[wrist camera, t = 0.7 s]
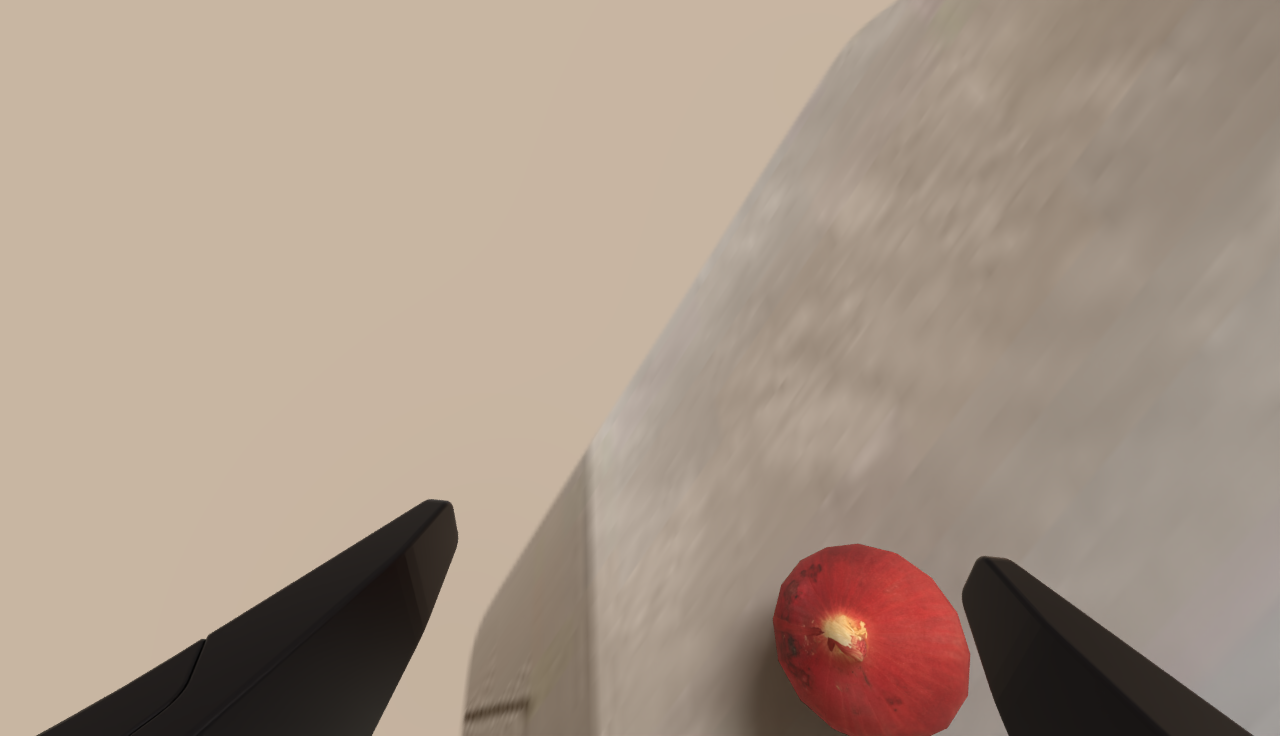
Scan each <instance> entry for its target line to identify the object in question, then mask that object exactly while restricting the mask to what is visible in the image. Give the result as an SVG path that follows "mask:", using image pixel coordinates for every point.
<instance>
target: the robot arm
mask: <svg viewBox="0 0 1280 736" xmlns="http://www.w3.org/2000/svg"><path fill="white" fill-rule="evenodd" d="M457 543H458V531H457V526H456V520H455V515H454V509H453V506H452V504H451V503H450V502H449V501H444V500H434V499H429V500H426V501H424V502H422V503H421V504H419V505H417V506H416V507H414V508H412V509H411V510H409V511H408V512H406V513H404V514H403V515H401V516H400V517H398V518H396V519H395V520H393V521H391V522H390V523H388V524H387V525H385V526H383V527H382V528H380V529H379V530H377V531H375V532H374V533H372V534H370V535H369V536H368V537H366V538H364V539H363V540H361V541H359V542H358V543H356V544H354V545H353V546H351V547H350V548H348V549H346V550H345V551H343V552H341V553H340V554H338V555H337V556H335V557H334V558H332V559H330V560H329V561H327V562H325V563H324V564H322V565H321V566H319V567H317V568H316V569H314V570H312V571H311V572H309V573H308V574H306V575H305V576H303V577H301V578H300V579H298V580H297V581H295V582H293V583H291V584H290V585H288V586H287V587H285V588H283V589H282V590H280V591H279V592H277V593H275V594H274V595H272V596H271V597H269V598H267V599H266V600H264V601H262V602H261V603H259V604H258V605H256V606H255V607H253V608H251V609H250V610H248V611H246V612H245V613H243V614H241V615H240V616H238V617H237V618H235V619H233V620H232V621H230V622H229V623H227V624H225V625H224V626H222V627H220V628H219V629H217V630H216V631H214V632H212V633H211V634H209V635H208V637H207V639H201V640H199V641H198V642H196V643H194V644H193V645H191V646H190V647H188V648H186V649H185V650H183V651H182V652H180V653H178V654H177V655H175V656H173V657H172V658H170V659H168V660H167V661H165V662H163V663H162V664H160V665H158V666H157V667H155V668H153V669H152V670H150V671H149V672H147V673H145V674H144V675H142V676H141V677H139V678H137V679H135V680H134V681H132V682H130V683H129V684H127V685H125V686H124V687H122V688H120V689H118V690H117V691H115V692H113V693H111V694H110V695H108V696H106V697H104V698H103V699H101V700H99V701H97V702H95V703H94V704H92V705H90V706H88V707H87V708H85V709H83V710H81V711H80V712H78V713H77V714H74V715H73V716H71V717H69V718H67V719H66V720H64V721H62V722H60V723H58V724H57V725H55V726H53V727H51V728H49V729H48V730H46V731H44V732H42V733H40V734H38V735H37V736H372V734H373V732H374V730H375V728H376V726H377V724H378V722H379V720H380V718H381V716H382V714H383V712H384V710H385V709H386V706H387V705H388V703H389V700H390V698H391V697H392V694H393V693H394V691H395V689H396V686H397V685H398V682H399V681H400V679H401V677H402V675H403V673H404V671H405V669H406V667H407V665H408V663H409V661H410V659H411V657H412V655H413V653H414V651H415V649H416V647H417V645H418V643H419V641H420V639H421V637H422V634H423V632H424V630H425V628H426V625H427V623H428V620H429V618H430V616H431V613H432V610H433V608H434V605H435V603H436V600H437V597H438V595H439V592H440V589H441V587H442V584H443V582H444V579H445V576H446V574H447V571H448V569H449V566H450V563H451V561H452V558H453V556H454V553H455V550H456V547H457ZM962 602H963V607H964V610H965V613H966V616H967V619H968V622H969V625H970V628H971V632H972V635H973V638H974V641H975V644H976V647H977V650H978V653H979V656H980V659H981V662H982V666H983V669H984V672H985V675H986V678H987V681H988V684H989V687H990V690H991V693H992V696H993V698H994V701H995V704H996V706H997V709H998V711H999V714H1000V716H1001V719H1002V721H1003V723H1004V726H1005V728H1006V730H1007V733H1008V735H1009V736H1253V735H1252V734H1251V733H1249V732H1248V731H1246V730H1245V729H1244V728H1242V727H1241V726H1240V725H1238V724H1237V723H1235V722H1234V721H1233V720H1231V719H1230V718H1228V717H1227V716H1226V715H1224V714H1223V713H1222V712H1220V711H1219V710H1217V709H1216V708H1215V707H1213V706H1212V705H1210V704H1209V703H1208V702H1206V701H1205V700H1204V699H1202V698H1201V697H1199V696H1198V695H1197V694H1195V693H1194V692H1193V691H1191V690H1190V689H1188V688H1187V687H1186V686H1184V685H1183V684H1181V683H1180V682H1179V681H1177V680H1176V679H1175V678H1173V677H1172V676H1170V675H1169V674H1168V673H1166V672H1165V671H1164V670H1162V669H1161V668H1159V667H1158V666H1157V665H1155V664H1154V663H1152V662H1151V661H1150V660H1148V659H1147V658H1146V657H1144V656H1143V655H1141V654H1140V653H1139V652H1137V651H1136V650H1134V649H1133V648H1132V647H1130V646H1129V645H1128V644H1126V643H1125V642H1123V641H1122V640H1121V639H1119V638H1118V637H1117V636H1115V635H1114V634H1112V633H1111V632H1110V631H1108V630H1107V629H1105V628H1104V627H1103V626H1101V625H1100V624H1099V623H1097V622H1096V621H1094V620H1093V619H1092V618H1090V617H1089V616H1088V615H1086V614H1085V613H1083V612H1082V611H1081V610H1079V609H1078V608H1076V607H1075V606H1074V605H1072V604H1071V603H1070V602H1068V601H1067V600H1065V599H1064V598H1063V597H1061V596H1060V595H1058V594H1057V593H1056V592H1054V591H1053V590H1052V589H1050V588H1049V587H1047V586H1046V585H1045V584H1043V583H1042V582H1041V581H1039V580H1038V579H1036V578H1035V577H1034V576H1032V575H1031V574H1029V573H1028V572H1027V571H1025V570H1024V569H1023V568H1021V567H1020V566H1018V565H1017V564H1016V563H1014V562H1013V561H1011V560H1009V559H1006V558H999V557H989V556H982V557H980V558H978V559H977V560H976V562H975V564H974V566H973V568H972V570H971V573H970V575H969V577H968V579H967V581H966V583H965V586H964V588H963V591H962Z"/></svg>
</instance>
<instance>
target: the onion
mask: <svg viewBox="0 0 1280 736" xmlns="http://www.w3.org/2000/svg"><path fill="white" fill-rule="evenodd" d="M773 625H774V632H775V639H776V647H777V654H778V661H779V662H780V664H781V666H782V668H783V670H784V671H785V673H786V675H787V677H788V679H789V680H790V682H791V684H792V686H793V687H794V689H795V691H796V693H797V695H798V696H799V698H800V700H801V701H802V702H804V703H805V704H806V705H807V706H808V707H809V708H810V709H811V710H813V711H814V712H815V713H816V714H817V715H818V716H819V717H820V718H822V719H823V720H824V721H825V722H826V723H827V724H828V725H829V726H831V727H832V728H833V729H835V730H837V731H840V732H842V733H844V734H846V735H849V736H931V735H933V734H935V733H938V732H940V731H942V730H944V729H946V728H948V726H949V725H950V723H951V722H952V720H953V718H954V717H955V715H956V714H957V712H958V710H959V709H960V707H961V706H962V704H963V702H964V701H965V699H966V698H967V696H968V684H969V667H970V652H969V649H968V645H967V642H966V639H965V636H964V633H963V630H962V627H961V623H960V620H959V617H958V614H957V612H956V611H955V609H954V608H953V607H952V605H951V604H950V602H949V601H948V600H947V598H946V597H945V596H944V594H943V593H942V591H941V590H940V589H939V587H938V586H937V585H936V583H935V582H934V580H933V579H932V578H931V577H929V576H928V575H927V574H925V573H924V572H922V571H921V570H920V569H918V568H917V567H915V566H914V565H913V564H911V563H910V562H908V561H907V560H905V559H904V558H903V557H901V556H900V555H898V554H896V553H893V552H889V551H885V550H881V549H877V548H873V547H869V546H865V545H861V544H851V545H843V546H834V547H826V548H824V549H822V550H820V551H818V552H816V553H814V554H812V555H810V556H808V557H806V558H805V559H803V560H801V561H800V562H799V563H798V564H797V566H796V567H795V568H794V569H793V571H792V572H791V573H790V575H789V576H788V577H787V578H786V580H785V581H784V582H783V584H782V585H781V589H780V593H779V597H778V601H777V605H776V609H775V613H774V617H773Z"/></svg>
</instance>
